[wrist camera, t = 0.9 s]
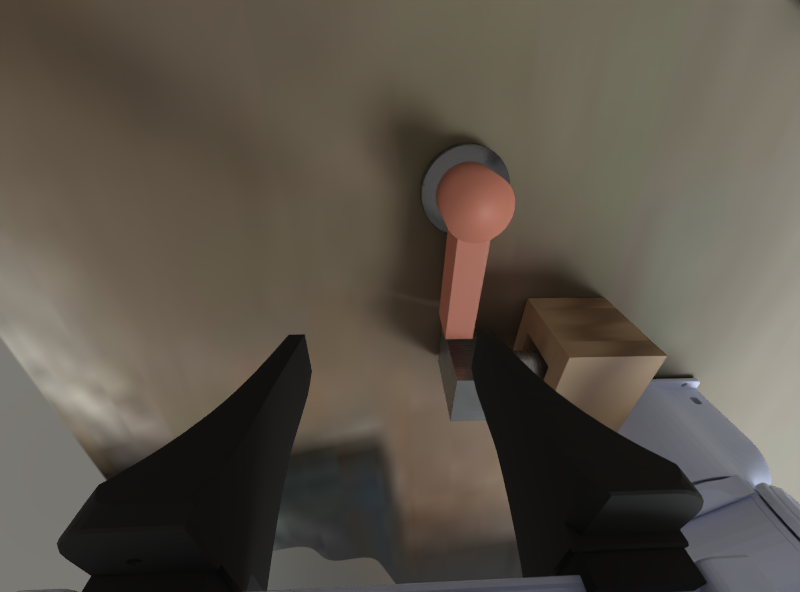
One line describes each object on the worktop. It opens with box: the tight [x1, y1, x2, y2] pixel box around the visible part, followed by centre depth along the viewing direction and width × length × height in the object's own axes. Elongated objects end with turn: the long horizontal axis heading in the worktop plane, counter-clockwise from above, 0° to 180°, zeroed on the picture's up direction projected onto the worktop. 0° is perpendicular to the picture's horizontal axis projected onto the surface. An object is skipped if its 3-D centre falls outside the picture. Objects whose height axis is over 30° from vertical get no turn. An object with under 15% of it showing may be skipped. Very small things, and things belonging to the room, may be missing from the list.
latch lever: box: [436, 161, 515, 339], centre depth 19 cm, size 4×10×3 cm, turn 179°
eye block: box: [513, 297, 667, 432], centre depth 23 cm, size 6×8×6 cm
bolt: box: [438, 327, 549, 421], centre depth 23 cm, size 11×4×6 cm, turn 89°
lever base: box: [421, 143, 510, 232], centre depth 19 cm, size 5×5×1 cm
